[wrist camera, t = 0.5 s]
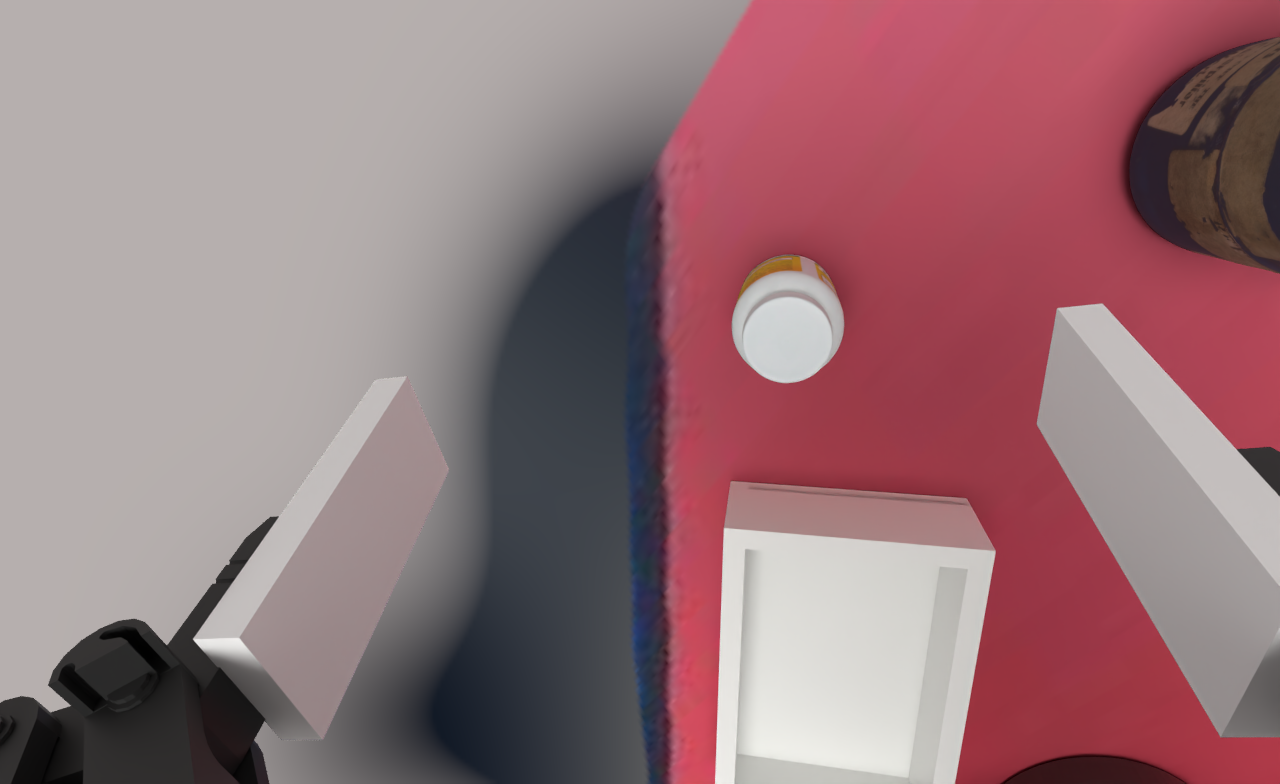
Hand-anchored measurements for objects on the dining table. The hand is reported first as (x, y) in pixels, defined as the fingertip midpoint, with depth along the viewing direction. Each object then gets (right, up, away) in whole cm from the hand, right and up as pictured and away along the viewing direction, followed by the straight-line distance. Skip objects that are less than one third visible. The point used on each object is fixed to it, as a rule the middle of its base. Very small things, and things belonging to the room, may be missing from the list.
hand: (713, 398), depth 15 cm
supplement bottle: (+7, +5, +26) cm, 27 cm away
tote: (+11, -16, +32) cm, 37 cm away
